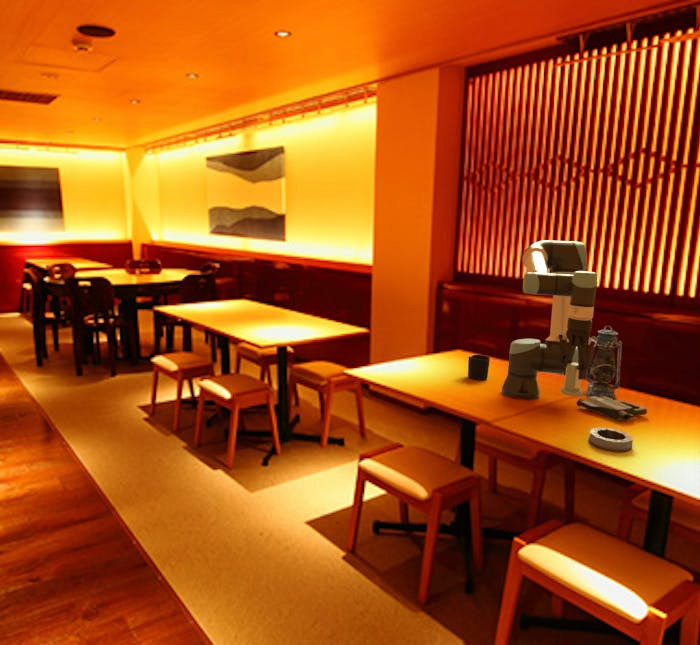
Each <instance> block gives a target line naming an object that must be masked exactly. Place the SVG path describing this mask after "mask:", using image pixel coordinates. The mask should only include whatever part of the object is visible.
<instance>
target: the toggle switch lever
mask: <svg viewBox="0 0 700 645" xmlns="http://www.w3.org/2000/svg"><path fill="white" fill-rule="evenodd" d="M577 368H579V363H575V362H574V363H569V364H567V372H566V381H565V380H564V383H565V385H564V386H562V387H560V393H561V394H562V395H565V396H569V397H582V396H583V395H584V390H583V389H582V388H577V389H575V388H574V385H575V376H576V369H577Z"/></svg>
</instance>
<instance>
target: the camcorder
mask: <svg viewBox="0 0 700 645" xmlns="http://www.w3.org/2000/svg"><path fill="white" fill-rule="evenodd" d="M576 405H577V407H582V408H584V409H587V410H588V411H592V412H596V413H597V414H600V415H602V416H604V417H607V418H610V419H612V420H614V421H617V422H618V421H623V422H627V421H628V420H632V419H634V418H635V417H637V416H643V415H647V413H648V410H647V408H646V407H643V406H640V405H638V404H635V403H632V402H630V401H626V400H616V399H614V400H613V399H611V398H608V397H605V396H604V397H596V396H593V397H589V396H588V398H587V399H586V400H585V399H583V398H582V397H581V398H578V400H577V401H576Z"/></svg>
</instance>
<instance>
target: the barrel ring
mask: <svg viewBox="0 0 700 645" xmlns="http://www.w3.org/2000/svg"><path fill="white" fill-rule="evenodd" d="M633 441H634V440H633V436H632V435H630V434H629V433H627V432H625V431H622V430H619V429H615V428H610V427H594V428H591V429H590V432H589V437H588V443H589V444H590V445H591V446H593V447H594V448H597V449H599V448H600V450H602V449H603V450H602V451H607V452H613V453H628V452H631V451H632V450H633Z"/></svg>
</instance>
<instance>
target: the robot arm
mask: <svg viewBox="0 0 700 645" xmlns="http://www.w3.org/2000/svg"><path fill="white" fill-rule="evenodd" d="M522 263H523V266H524V267H525V268H526V272H525V273H524V275H523V280H522V291H523V293H524V294H530V295H541V296H542V295H543V296H552V304H551V307H552V308H551V316H550V317H551V320H550V331H549V332H550V333H549V336H548V337H546V338H545V343H541V340H540V339H537V338H520V339H515V340H514V341H512V342H511V343H510V348H509V352H508V353H509V357H508V358H509V359H508V368H507V375H506V378H505V379H504V382H503V385H502V386H501V394H503V395H504V396H506V397H509V398H511V399H515V400H516V399H517V400H525V401H526V400H528V401H529V400H536V399H539V398H540V394H541V393H540V392H541V391H540V387H539V383H538V382H539V381H538V373H548V374H557V375H563V376H565V377H564V386H565V381H566V372H567V364H569V363H574V362H575V363H579V368H577V369H576V376H575V385H574V388H575V389H577V388H580V389H582V380H583V379H584V378H585V375H586V371H587V369H590V368H591V369H592V365H593V361H594V358H595V352H596V347H597V346H598V345H597V344H598V341H595V340H593V339H592V335H591V332H592V327H593V320H592V319H593V318H594V311H595V310H594V309H595V301H596V293H597V292H596V291H597V286H598V274H597V273H596V272H594V271H589V270H588V271H586V269H587V266H588V265H587V264H588V254H587V247H586V245H585V244H584V242H581V241H575V240H574V241H573V240H570V241H569V240H567V241H566V240H547V239H544V240H539V241H536V242H534V243H532V244H530V245H529V246H528V247H526V249H525V250H524V252H523V254H522ZM549 270H550V271H551V272H550V271H549ZM587 345H588V346H587ZM586 350H587V351H586Z"/></svg>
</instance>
